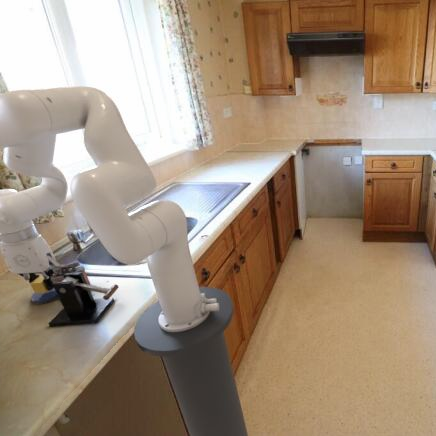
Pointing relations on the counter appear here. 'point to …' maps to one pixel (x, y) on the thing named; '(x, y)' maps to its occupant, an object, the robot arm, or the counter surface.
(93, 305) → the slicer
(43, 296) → the dish
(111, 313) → the counter surface
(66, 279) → the lever
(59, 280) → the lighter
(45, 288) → the butter
